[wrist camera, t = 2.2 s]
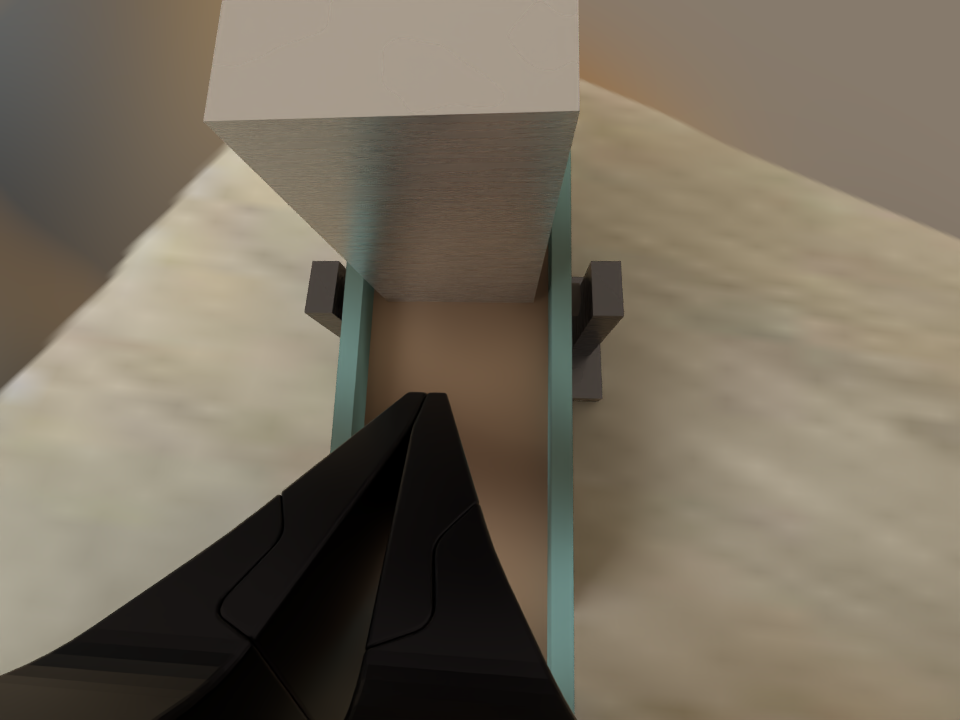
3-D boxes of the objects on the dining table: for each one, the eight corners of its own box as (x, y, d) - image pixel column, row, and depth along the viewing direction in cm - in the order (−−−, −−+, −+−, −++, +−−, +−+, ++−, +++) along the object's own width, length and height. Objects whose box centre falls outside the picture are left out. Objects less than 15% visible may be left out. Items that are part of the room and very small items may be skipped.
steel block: (533, 302, 13) (579, 110, 5) (387, 301, 13) (204, 121, 5) (534, 167, 13) (576, -196, 5) (396, 169, 14) (248, -167, 6)
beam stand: (598, 400, 18) (643, 375, 12) (351, 394, 19) (281, 367, 13) (593, 284, 19) (632, 210, 13) (364, 283, 20) (307, 213, 14)
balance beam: (568, 648, 14) (598, 761, 10) (353, 633, 15) (284, 731, 10) (565, 56, 18) (586, -68, 13) (395, 63, 19) (359, -54, 14)
